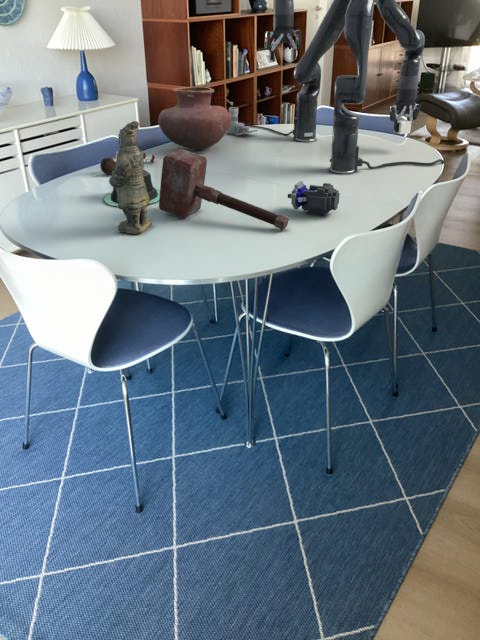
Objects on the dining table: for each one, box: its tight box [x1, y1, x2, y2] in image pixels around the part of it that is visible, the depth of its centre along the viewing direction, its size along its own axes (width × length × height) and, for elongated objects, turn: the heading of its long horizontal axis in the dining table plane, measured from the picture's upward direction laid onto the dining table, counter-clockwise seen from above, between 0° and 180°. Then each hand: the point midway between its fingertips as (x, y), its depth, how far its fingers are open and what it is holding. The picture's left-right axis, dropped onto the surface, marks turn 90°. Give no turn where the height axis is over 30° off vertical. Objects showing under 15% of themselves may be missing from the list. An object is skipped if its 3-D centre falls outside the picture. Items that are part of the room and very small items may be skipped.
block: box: [392, 118, 413, 135], centre depth 227 cm, size 5×5×5 cm
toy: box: [287, 180, 341, 216], centre depth 168 cm, size 9×9×15 cm
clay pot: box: [157, 86, 231, 151], centre depth 238 cm, size 30×30×25 cm
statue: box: [108, 120, 153, 235], centre depth 154 cm, size 11×9×30 cm
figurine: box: [100, 149, 156, 176], centre depth 217 cm, size 13×8×25 cm
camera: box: [226, 106, 259, 136], centre depth 264 cm, size 9×12×15 cm
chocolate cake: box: [103, 168, 160, 207], centre depth 186 cm, size 15×19×20 cm
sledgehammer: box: [158, 148, 290, 231], centre depth 163 cm, size 17×10×40 cm
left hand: (401, 131), depth 228 cm, fingers closed on block, 4 cm apart
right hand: (282, 60), depth 214 cm, fingers open, 8 cm apart
